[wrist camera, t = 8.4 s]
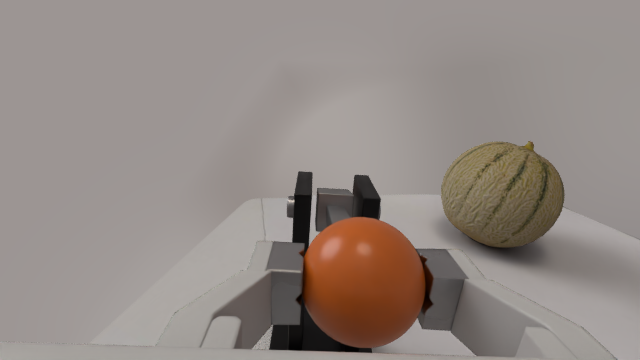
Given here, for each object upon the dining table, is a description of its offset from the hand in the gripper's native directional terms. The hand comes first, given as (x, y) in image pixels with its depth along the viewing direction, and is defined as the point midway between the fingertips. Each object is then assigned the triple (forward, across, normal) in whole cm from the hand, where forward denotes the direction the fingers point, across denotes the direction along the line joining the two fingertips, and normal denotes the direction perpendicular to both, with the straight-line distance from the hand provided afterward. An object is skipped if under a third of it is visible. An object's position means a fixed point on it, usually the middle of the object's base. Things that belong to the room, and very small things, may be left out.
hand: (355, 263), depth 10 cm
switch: (+4, 0, +3) cm, 5 cm away
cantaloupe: (+30, -25, +16) cm, 43 cm away
